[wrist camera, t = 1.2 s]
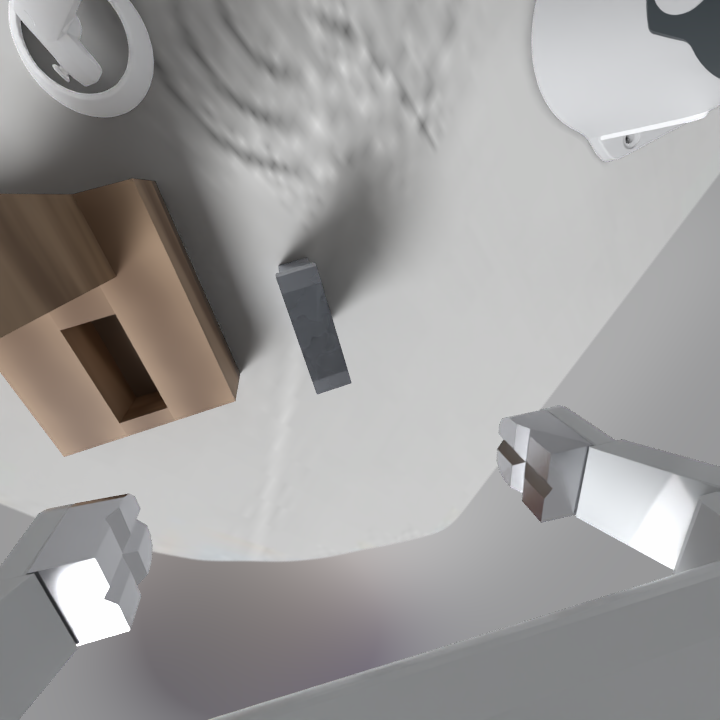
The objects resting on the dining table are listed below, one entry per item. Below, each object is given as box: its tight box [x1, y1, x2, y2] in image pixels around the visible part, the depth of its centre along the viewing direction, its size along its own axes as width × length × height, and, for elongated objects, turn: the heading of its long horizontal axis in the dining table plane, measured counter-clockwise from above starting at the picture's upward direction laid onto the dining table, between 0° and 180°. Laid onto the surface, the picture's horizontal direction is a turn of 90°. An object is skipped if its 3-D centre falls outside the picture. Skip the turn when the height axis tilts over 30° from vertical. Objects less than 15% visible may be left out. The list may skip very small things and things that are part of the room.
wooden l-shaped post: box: [0, 178, 240, 457], centre depth 20 cm, size 13×16×23 cm
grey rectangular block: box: [276, 257, 351, 394], centre depth 28 cm, size 2×8×10 cm, turn 14°
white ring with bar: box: [8, 0, 154, 118], centre depth 21 cm, size 8×12×7 cm
